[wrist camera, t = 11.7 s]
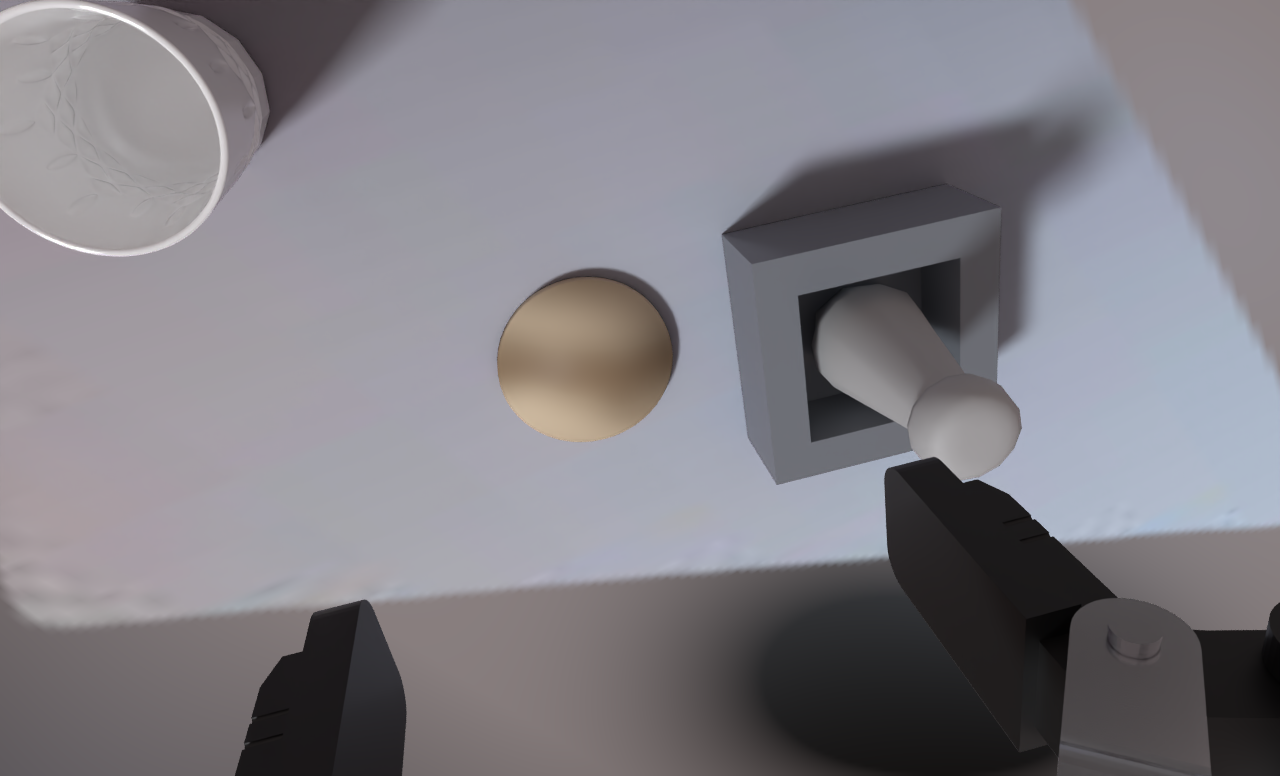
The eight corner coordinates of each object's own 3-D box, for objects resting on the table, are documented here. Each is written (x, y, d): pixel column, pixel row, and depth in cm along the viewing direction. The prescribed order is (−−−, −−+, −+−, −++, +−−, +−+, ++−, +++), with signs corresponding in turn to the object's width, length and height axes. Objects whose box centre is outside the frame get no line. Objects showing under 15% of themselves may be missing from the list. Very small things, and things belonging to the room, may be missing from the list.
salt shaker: (878, 249, 44) (1026, 347, 32) (917, 335, 46) (1067, 455, 35) (779, 310, 44) (890, 428, 33) (823, 392, 47) (941, 529, 35)
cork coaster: (477, 299, 42) (477, 303, 41) (655, 259, 43) (657, 262, 42) (520, 453, 46) (520, 459, 46) (681, 414, 47) (684, 419, 46)
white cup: (258, 216, 38) (197, 289, 30) (62, 149, 36) (-70, 206, 27) (306, 43, 36) (255, 65, 27) (98, -44, 33) (-34, -50, 24)
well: (721, 234, 43) (751, 264, 38) (947, 183, 44) (1001, 207, 39) (748, 438, 48) (776, 485, 44) (947, 388, 49) (995, 429, 45)
